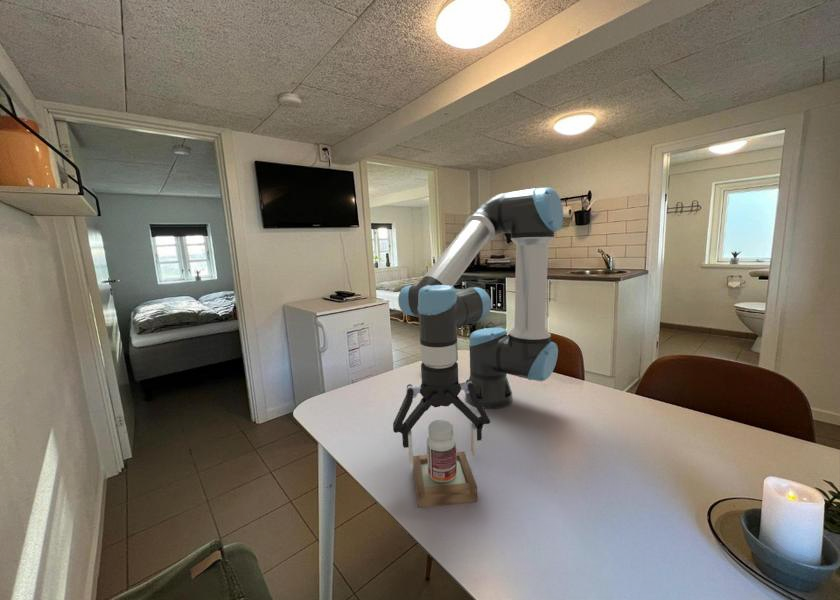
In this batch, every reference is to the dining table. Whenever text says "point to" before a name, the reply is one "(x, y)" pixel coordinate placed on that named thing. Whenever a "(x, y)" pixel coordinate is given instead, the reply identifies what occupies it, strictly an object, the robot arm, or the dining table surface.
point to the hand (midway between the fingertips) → (442, 456)
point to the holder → (444, 484)
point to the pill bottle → (441, 452)
